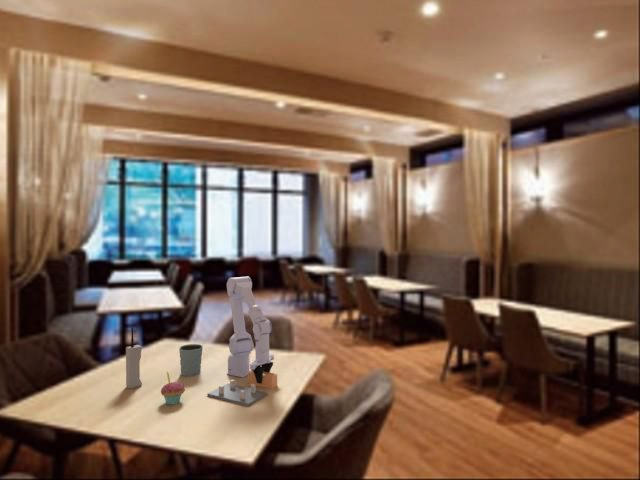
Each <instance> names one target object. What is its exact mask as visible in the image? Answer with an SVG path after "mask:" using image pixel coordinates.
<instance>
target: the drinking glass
mask: <svg viewBox="0 0 640 480" xmlns="http://www.w3.org/2000/svg"><path fill="white" fill-rule="evenodd" d="M178 350H179V358H180V359H179V360H180V361H179V365H180V375H181V376H182V375H183V377H194V376H198V375H199V374H200V373H201V369H202V356H203V345H201V344H197V343H195V344H194V343H193V344H191V343H190V344H184V345H181V346H179V349H178Z"/></svg>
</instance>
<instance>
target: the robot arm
mask: <svg viewBox="0 0 640 480" xmlns="http://www.w3.org/2000/svg"><path fill="white" fill-rule="evenodd" d="M252 288H253V281H252V279H251V277H250V276H247V275H246V276H240V277H239V276H238V277H229V278H228V279H227V282H226V290H227V296H228V297H229V300H230V309H231V314H232V323H233V331H234V333H233V334H232V336H230V338H229V340H228V341H229V346H228V349H229V352H230V354H229V355H228V358H227V372H226V375H230V376H234V377H238V378H245V377H248V372H250V371H251V369H252V371H253V372H254V375H255V378H256V382H257V383H260V384H261V383H262V376H263V371H264V372H269V373H271V369H272V368H273V366H274V362H273V361H274V360H275V354H270V334H271V333H272V332H273V325H272V322H271V320H269V319H268V317H266V316H265V314H264V312H263V309H262V307H261V306H260V305H259V304H257V302H256V299H255V297H254V294H253V291H252ZM243 300H244V302H245V303H246V306H247V307H248V311H247V313H248V315H249V318H250V320H251V323H252V324H253V327H252V332H253V338H254V340H255V346H254V341H253V339H252V335H251V334H250V333H248V332H247V329H246V322H245V314H244V307H243ZM254 347H255V359H254V360H253V361H252V363H250V354H252V352H253V349H254Z"/></svg>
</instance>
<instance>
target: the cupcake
mask: <svg viewBox="0 0 640 480" xmlns="http://www.w3.org/2000/svg"><path fill="white" fill-rule="evenodd" d="M166 377H167V383H166V384H165V385H163V386H162V387H161V388H160V394H161V395H162V396H163V397H164V400H165V403H166V404H168V405H176V404H177V403H179V402H180V399H181V397H182V395H183V394H184V393H185V392H186V390H185V389H186V387H185V385H184V384H183V383H181V382H179V381H171V380H170V379H171V378H170V373H169V371H166Z"/></svg>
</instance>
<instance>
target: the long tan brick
mask: <svg viewBox="0 0 640 480" xmlns="http://www.w3.org/2000/svg"><path fill="white" fill-rule="evenodd" d="M250 370H251V371H250V372H248V375H247V378H248V379H247V381H248V383H247V384H248V385H252V384H254V385H256V387H257V386H258V387H262V388H267V389H274V388H275V387H277V386H278V374H277V373H274V372H270V373H269V372H264V371H263V376H262V383H261V384H260V383H257V382H256V378H255V375H254V372H253V371H252V369H250Z"/></svg>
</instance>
